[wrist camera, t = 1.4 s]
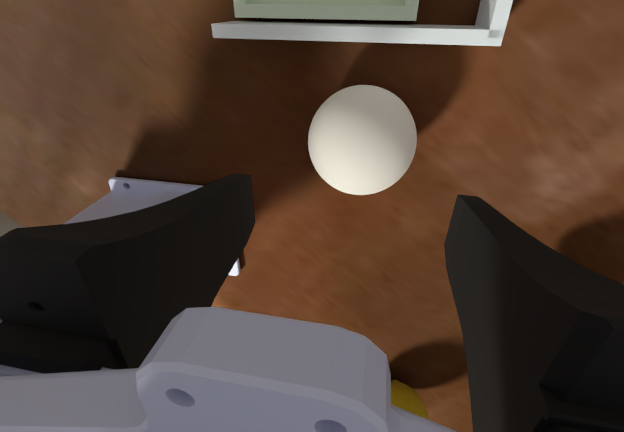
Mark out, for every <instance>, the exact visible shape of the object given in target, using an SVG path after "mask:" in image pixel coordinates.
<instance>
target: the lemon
mask: <svg viewBox="0 0 624 432" xmlns="http://www.w3.org/2000/svg"><path fill="white" fill-rule="evenodd" d="M391 405H394V406H396V407H399V408H401V409H403V410H406V411H408V412H411V413H413V414H416V415H418V416H421V417H423V418H426V419H428V420H429V416H428V413H427V410H426V407H425V405H424V403H423V401H422V399H421V398H420V396H419V395H418V394H417V393H416V392H415V391H414V390H413V389H412V388H411V387H409V386H408V385H406V384H403V383H401V382H399V381H398V380H392V381H391Z"/></svg>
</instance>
